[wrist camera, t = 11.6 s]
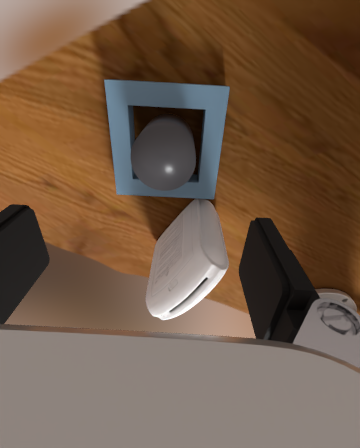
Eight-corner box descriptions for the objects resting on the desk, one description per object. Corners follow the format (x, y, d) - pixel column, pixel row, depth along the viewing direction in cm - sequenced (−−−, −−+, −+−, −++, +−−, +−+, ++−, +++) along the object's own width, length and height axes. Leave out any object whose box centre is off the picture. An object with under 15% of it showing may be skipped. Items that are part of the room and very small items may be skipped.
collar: (225, 85, 22) (229, 86, 20) (211, 190, 28) (213, 199, 26) (111, 79, 22) (104, 79, 20) (121, 185, 28) (116, 194, 26)
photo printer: (175, 257, 34) (171, 336, 24) (151, 243, 33) (135, 321, 23) (222, 209, 30) (242, 281, 19) (196, 191, 28) (203, 257, 18)
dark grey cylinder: (195, 114, 24) (198, 127, 18) (191, 166, 27) (193, 192, 21) (142, 112, 24) (128, 123, 18) (144, 164, 27) (132, 189, 21)
